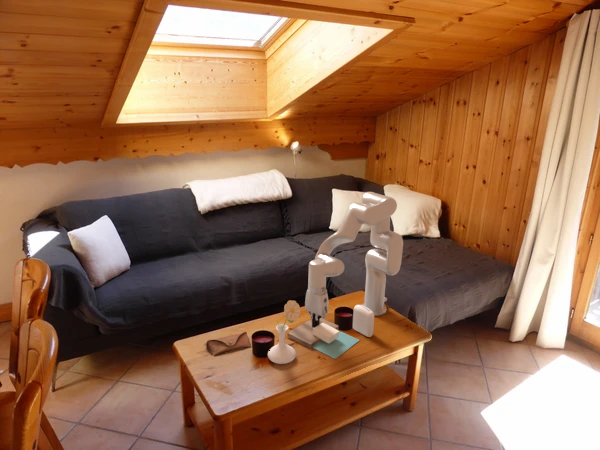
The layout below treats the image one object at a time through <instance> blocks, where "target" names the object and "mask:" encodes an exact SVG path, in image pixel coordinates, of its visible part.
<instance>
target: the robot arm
mask: <svg viewBox="0 0 600 450" xmlns="http://www.w3.org/2000/svg"><path fill="white" fill-rule="evenodd" d="M397 208H398V203H397V200H396V199H395V198H393V197H392V196H388V195H383V194H380V193H377V192H371V191H369V192H368V191H367V192H365V193H364V194H363V195H362V198H361V202H353V203H351V204H350V205H349V206H348V209H347V210H346V212H345V214H344V216H343V219H342V220H341V222H340V225H339V226H338V228H337V230H336V231H335V232H334V233H333V234H331V235H330V236H329V237H327V238H326V239H325V240H324V241H323V242H322V243H321V244H320V246H319V248H318V250H317V252H316V255H315V256H314V259H313V260H311V261H309V263H308V276H307V277H308V282H307V283H308V284H307V290H306V293H305V301H304V308H305V311H306V312H307V313H309V315H310V319H312V327H314V328H315V327H316V326H318V325H319V323H320V318H322V319H324V320H326V318H327V314H328V313H329V307H330V305H329V304H330V303H329V296H328V295H329V294H328V289H327V287H326V286H327V278H329V277H332V278H333V277H337V276H340V275H342V273H344V271H345V264H344V262H343V261H342V260H341V259H338V258H337V257H334V256H332V255H331V253H332V251H333V250H334V249H335V248H336V247H338V246H340V245H342V244H346V243H352V242H354V241H355V240H356V238H357V236H358V233H359V231H360V230H361V228H362V225H364V226H368V227H370V241H369V242H370V244H371V245H372V246H373V247H375V248H371V249H370V250H367V252H366V255H365V260H364V261H365V262H364V263H365V270H366V274H365V275H366V276H365V289H364V291H365V292H364V302H363V303H361V305H362V306H365V307H367V308H369V309H370V310H371V311H372V312H373V313H374V317H375V316H376V317H377V316H382V315H385V314H386V313H387V307H386V306H385V302H387V300H388V297H385V294H386V293H385V292H386V283H387V276H395V275H397V274H398V273H399V271H400V269H401V265H402V260H403V259H402V258H403V249H404V240H403V237H402V236H401V234H400V233H397V232H395V231H392V230H391V217H392V216H393V215H394V214H395V212H396V210H397ZM386 275H387V276H386Z"/></svg>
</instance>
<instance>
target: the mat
mask: <svg viewBox="0 0 600 450" xmlns="http://www.w3.org/2000/svg"><path fill="white" fill-rule="evenodd" d="M338 331H339V337H338V338H337V339H335V340H334V341H332V342H331V343H327V342H325V341H323V340H322V341H320V342H319V343H317V344H316V345H314V346H313V347H312V348H311V349H314V350H316V351H317V352H320V353H322V354H324V355H326V356H328V357H330V358H332V359H334V360H336V359H338V358H339V357H341V356H342V355H343V354H344V353H345V352H347V351H348V350H349V349H350V348H352V347H353V346H355V345H356V344H357V343H359V342H360V340H361V339H359V338H357V337H353V336H352V335H350V334H347V333H345V332H343V331H341V330H338Z"/></svg>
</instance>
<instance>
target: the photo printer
mask: <svg viewBox="0 0 600 450" xmlns="http://www.w3.org/2000/svg"><path fill="white" fill-rule="evenodd" d="M352 311H353V314H352V329H353V330H355V331H356V332H358V333H359V334H361V335H363V336H366V337H368V338H370V337H372V336H373V335H374V329H375V327H374V326H375V325H374V324H375V316H374V313H373V312H372V311H371V310H370V309H369V308H367V307H365V306H362V304H356V305H355V306H354V307H353V310H352Z"/></svg>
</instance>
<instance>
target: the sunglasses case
mask: <svg viewBox="0 0 600 450" xmlns="http://www.w3.org/2000/svg"><path fill="white" fill-rule="evenodd" d="M205 345H206V349H207V348H208V349H207V350H208V352H209V354H210V355H211V357H212V356H214V357H217V356H220V355H223V354H227V353H230V351H231V352H234V350H235V351H240V350H242V349H243V350H244V349H248V347H249V348H252V347H251V345H252V343H251V341H250V339H249V336H248V333H247V331H244V332H241V333H236V334H231V335H227V336H221V337H219V338H214V339H207V341H206V343H205ZM226 352H227V353H226Z"/></svg>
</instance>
